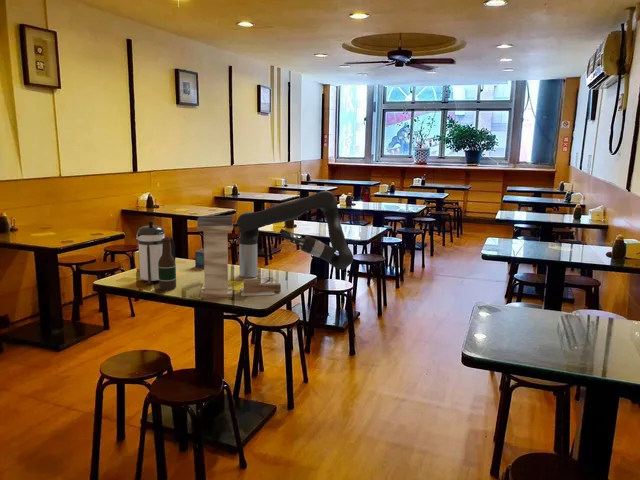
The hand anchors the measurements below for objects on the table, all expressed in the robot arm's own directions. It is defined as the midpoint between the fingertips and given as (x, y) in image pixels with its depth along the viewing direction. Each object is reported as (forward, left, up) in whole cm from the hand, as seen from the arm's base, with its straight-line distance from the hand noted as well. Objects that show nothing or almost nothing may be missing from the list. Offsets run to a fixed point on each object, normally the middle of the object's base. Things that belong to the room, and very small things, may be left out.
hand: (281, 232), depth 226 cm
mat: (0, -11, -28) cm, 30 cm away
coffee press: (-25, -60, -28) cm, 71 cm away
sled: (-1, -9, -28) cm, 29 cm away
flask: (-50, -39, -28) cm, 70 cm away
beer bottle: (-10, -52, -28) cm, 60 cm away
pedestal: (0, -29, -28) cm, 41 cm away
